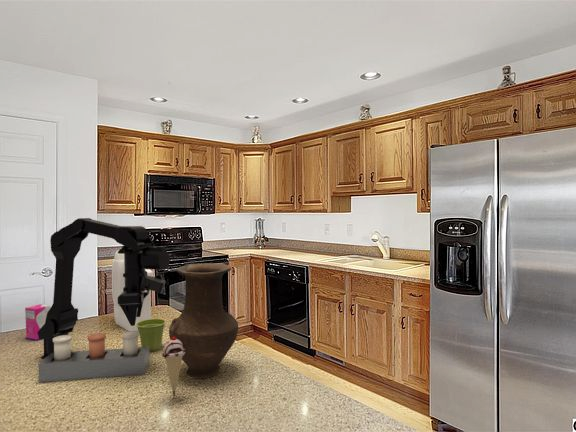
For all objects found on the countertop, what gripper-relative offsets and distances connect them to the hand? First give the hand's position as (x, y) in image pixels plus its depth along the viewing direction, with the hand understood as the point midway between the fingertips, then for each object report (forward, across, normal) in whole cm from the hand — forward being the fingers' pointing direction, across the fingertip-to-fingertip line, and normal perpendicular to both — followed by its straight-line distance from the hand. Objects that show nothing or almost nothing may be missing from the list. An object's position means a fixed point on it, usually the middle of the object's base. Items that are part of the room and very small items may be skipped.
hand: (135, 321), depth 115 cm
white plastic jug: (+13, +41, +10) cm, 44 cm away
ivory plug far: (+9, -4, +1) cm, 10 cm away
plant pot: (+13, +13, -2) cm, 19 cm away
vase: (+14, -9, -20) cm, 26 cm away
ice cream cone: (+14, -23, -12) cm, 29 cm away
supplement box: (+13, +34, +39) cm, 53 cm away
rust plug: (+9, -3, +10) cm, 14 cm away
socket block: (+13, -3, +10) cm, 17 cm away
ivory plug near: (+9, -3, +19) cm, 21 cm away
